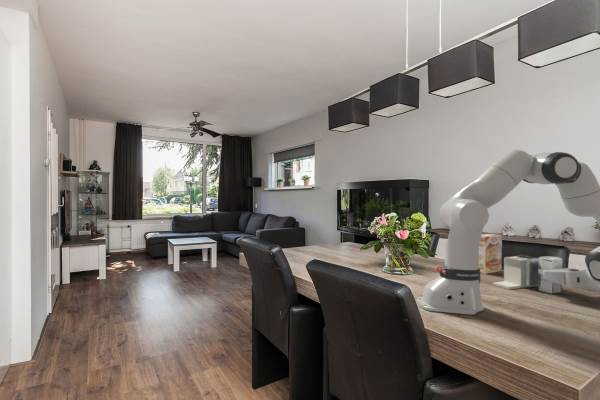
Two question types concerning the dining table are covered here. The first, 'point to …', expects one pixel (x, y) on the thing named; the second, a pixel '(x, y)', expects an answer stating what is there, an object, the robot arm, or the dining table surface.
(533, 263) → the gray boxy block
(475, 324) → the dining table surface
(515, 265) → the test stand
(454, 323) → the dining table surface
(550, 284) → the syrup box
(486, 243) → the coffeecake box
